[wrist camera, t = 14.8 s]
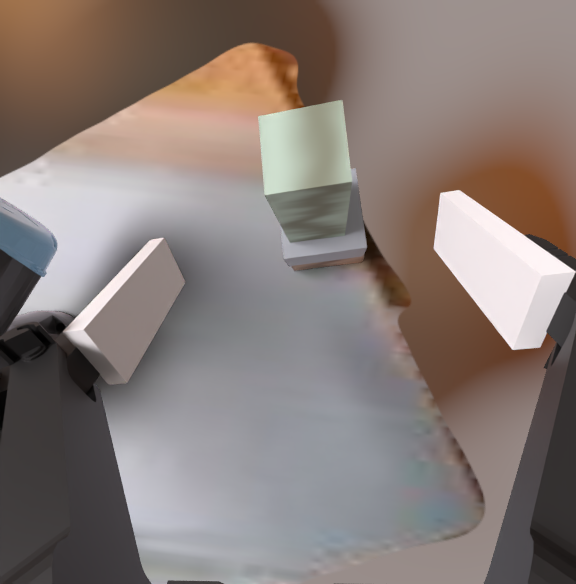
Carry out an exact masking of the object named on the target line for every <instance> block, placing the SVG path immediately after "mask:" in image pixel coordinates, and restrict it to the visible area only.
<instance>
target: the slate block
mask: <svg viewBox="0 0 576 584" xmlns="http://www.w3.org/2000/svg"><path fill="white" fill-rule="evenodd" d="M351 176H352V187H351V194H350V201H349V209H348V216H347V224H346V231H345V236H338V237H330V238H323V239H315V240H307V241H299V242H292V243H290V242H289V240H288V238H287V236H286V234H285V233H284V231H283V229H282V227H281V225H280V229H281V239H282V249H283V258H284V260H285V262H286V263H287V264H288V266H295V265H302V264H310V263H317V262H325V261H332V260H339V259H347V258H354V257H362V256H363V255H364V253H365V251H366V249H367V244H366V237H365V230H364V223H363V216H362V209H361V202H360V195H359V188H358V181H357V174H356V168H354V169H351Z"/></svg>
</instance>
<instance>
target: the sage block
mask: <svg viewBox="0 0 576 584" xmlns="http://www.w3.org/2000/svg"><path fill="white" fill-rule="evenodd" d="M258 119H259V131H260V144H261V156H262V168H263V181H264V193H265V197H266V199H267V201H268V202H269V204H270V206H271V208H272V210H273V212H274V214H275V216H276V217H277V219H278V221H279V223H280V225H281V227H282V229H283V231H284V233H285V234H286V236H287V238H288V240H289V242H290V243H292V242H299V241H307V240H315V239H323V238H330V237H338V236H345V231H346V224H347V216H348V209H349V201H350V194H351V187H352V176H351V168H350V159H349V151H348V144H347V134H346V127H345V118H344V110H343V101H342V100H339V101H334V102H329V103H324V104H319V105H314V106H309V107H304V108H299V109H293V110H288V111H283V112H278V113H273V114H268V115H263V116H258Z"/></svg>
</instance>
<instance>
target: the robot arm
mask: <svg viewBox="0 0 576 584" xmlns="http://www.w3.org/2000/svg"><path fill="white" fill-rule="evenodd" d="M434 250H435V251H436V252H437V254H438V255H439V256H440V257H441V259H442V260H443V261H444V262H445V264H446V265H447V266H448V268H449V269H450V270H451V272H452V273H453V274H454V275H455V277H456V278H457V279H458V281H459V282H460V283H461V284H462V286H463V287H464V288H465V289H466V291H467V292H468V293H469V295H470V296H471V297H472V298H473V300H474V301H475V302H476V304H477V305H478V306H479V307H480V309H481V310H482V311H483V312H484V314H485V315H486V316H487V318H488V319H489V320H490V321H491V323H492V324H493V325H494V327H495V328H496V329H497V330H498V332H499V333H500V334H501V335H502V337H503V338H504V339H505V341H506V342H507V343H508V345H509V346H510V347H511V348H512V350H517V349H528V348H540V347H541V344H542V342H543V340H544V338H545V336H546V334H547V333H548V334H549V335H550V336H551V337H552V338H553V339H554V340H555V341H556V342H557V343H556V345H555V347H554V349H553V351H552V352H551V354H550V356H549V358H548V360H547V362H546V364H545V366H544V368H546V369H547V371H546V374H545V378H544V381H543V385H542V388H541V392H540V395H539V399H538V402H537V406H536V409H535V412H534V416H533V419H532V424H531V427H530V430H529V434H528V437H527V440H526V444H525V447H524V451H523V454H522V458H521V461H520V465H519V468H518V471H517V475H516V478H515V482H514V485H513V489H512V492H511V496H510V499H509V503H508V506H507V510H506V513H505V516H504V520H503V523H502V527H501V531H500V534H499V537H498V541H497V544H496V548H495V551H494V554H493V558H492V561H491V565H490V568H489V571H488V574H487V577H486V580H485V582H484V584H576V259H575V258H573V257H572V256H568V254H567V253H565V252H564V251H562V250H561V249H558V247H556V246H555V245H553V244H552V243H550V242H549V241H547V240H545V239H542V238H539V237H536V236H533V235H530V234H528V235H523V234H521V233H520V232H518V231H517V230H515V229H514V228H513V227H511V226H510V225H508V224H507V223H505V222H504V221H503V220H501V219H500V218H498V217H497V216H495V215H494V214H492V213H491V212H490V211H488V210H487V209H485V208H484V207H483V206H481V205H480V204H478V203H477V202H475V201H474V200H473V199H471V198H470V197H468V196H467V195H465V194H464V193H462V192H461V191H460V190H457V191H451V192H444V193H441V194H440V202H439V210H438V218H437V226H436V234H435V242H434ZM56 251H57V240H56V238H55V237H54V235H53V234H52V233H51V232H50V231H49V230H48V229H47V228H46V227H45V226H44V225H42V224H41V223H40V222H38V221H37V220H35V219H34V218H32V217H31V216H29V215H28V214H26V213H25V212H23V211H22V210H20V209H18V208H17V207H15V206H14V205H12V204H10V203H9V202H7V201H5V200H4V199H2V198H0V584H151V582H150V581H149V579H148V578H147V576H146V575H145V573H144V571H143V568H142V565H141V562H140V557H139V553H138V549H137V545H136V541H135V536H134V532H133V528H132V524H131V520H130V515H129V511H128V507H127V503H126V498H125V494H124V490H123V486H122V482H121V477H120V473H119V469H118V465H117V460H116V456H115V452H114V448H113V444H112V439H111V435H110V431H109V427H108V422H107V418H106V414H105V410H104V406H103V401H102V397H101V393H100V389H99V388H98V386H97V385H96V384H95V383H94V382H95V381H96V379H97V378H98V376H99V375H100V376H101V377H102V378H103V379H104V380H105V381H106V382H107V384H108V385H113V384H125V383H128V381H129V379H130V378H131V376H132V374H133V372H134V371H135V369H136V367H137V365H138V364H139V362H140V360H141V359H142V357H143V355H144V353H145V352H146V350H147V348H148V346H149V345H150V343H151V341H152V340H153V338H154V336H155V334H156V333H157V331H158V329H159V327H160V326H161V324H162V322H163V320H164V319H165V317H166V315H167V314H168V312H169V310H170V308H171V307H172V305H173V303H174V301H175V300H176V298H177V296H178V295H179V293H180V291H181V289H182V288H183V286H184V284H185V280H184V278H183V276H182V274H181V272H180V270H179V268H178V265H177V263H176V261H175V259H174V257H173V255H172V253H171V251H170V249H169V246H168V244H167V242H166V240H165V238H159V239H152V240H150V241H149V242H148V243H147V244H146V245H145V246H144V247H143V248H142V249H141V250H140V251H139V252H138V253H137V254H136V255H135V256H134V257H133V259H132V260H131V261H130V262H129V263H128V264H127V265H126V266H125V267H124V268H123V269H122V270H121V271H120V272H119V273H118V274H117V275H116V276H115V277H114V278H113V280H112V281H111V282H110V283H109V284H108V285H107V286H106V287H105V288H104V289H103V290H102V291H101V292H100V293H99V294H98V295H97V296H96V297H95V298H94V299H93V300H92V301H91V302H90V303H89V304H88V305H87V306H86V307H85V308H84V309H83V311H82V312H81V313H80V314H79V315H78V316H77V317H76V318H74V317H72V316H71V315H69V314H66V313H63V312H58V311H33V312H28V313H25V314H21V315H17V314H18V313H19V311H20V309H21V308H22V306H23V305H24V303H25V302H26V300H27V298H28V297H29V295H30V294H31V292H32V290H33V289H34V287H35V286H36V284H37V283H38V281H39V279H40V278H41V276H42V277H44V276H45V275H46V269H47V267H48V265H49V263H50V262H51V260H52V258H53V256H54V255H55V253H56ZM167 584H223V583H221V582H219V581H168V582H167Z"/></svg>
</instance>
